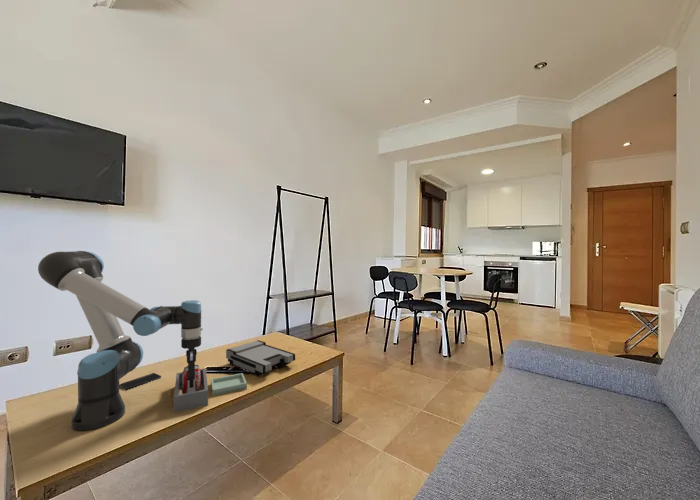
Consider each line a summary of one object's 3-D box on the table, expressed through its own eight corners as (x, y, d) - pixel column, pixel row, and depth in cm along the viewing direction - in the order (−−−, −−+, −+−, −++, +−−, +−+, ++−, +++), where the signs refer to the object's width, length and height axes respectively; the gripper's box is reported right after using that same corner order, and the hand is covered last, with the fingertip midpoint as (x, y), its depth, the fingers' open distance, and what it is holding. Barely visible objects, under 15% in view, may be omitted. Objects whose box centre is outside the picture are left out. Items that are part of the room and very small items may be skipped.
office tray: (262, 380, 142) (262, 363, 142) (226, 364, 161) (226, 349, 161) (295, 366, 158) (295, 351, 158) (258, 353, 178) (258, 340, 178)
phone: (118, 384, 135) (153, 372, 148) (118, 387, 135) (153, 374, 148) (126, 389, 131) (162, 376, 144) (126, 391, 131) (162, 378, 144)
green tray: (212, 395, 127) (212, 390, 127) (211, 384, 137) (211, 379, 137) (246, 388, 133) (246, 383, 133) (242, 378, 144) (242, 373, 144)
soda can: (192, 400, 123) (192, 371, 123) (178, 398, 124) (177, 369, 124) (204, 392, 130) (204, 364, 130) (190, 390, 131) (190, 363, 131)
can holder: (208, 405, 119) (208, 390, 119) (173, 412, 114) (173, 397, 114) (205, 380, 141) (205, 368, 141) (176, 386, 135) (176, 373, 135)
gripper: (201, 342, 120) (201, 398, 120) (200, 330, 138) (200, 379, 138) (180, 345, 116) (180, 403, 117) (182, 332, 134) (182, 382, 134)
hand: (191, 390), depth 127 cm, fingers open, 7 cm apart
